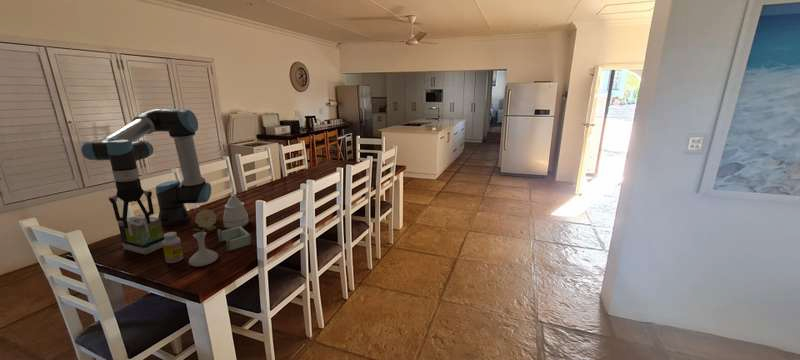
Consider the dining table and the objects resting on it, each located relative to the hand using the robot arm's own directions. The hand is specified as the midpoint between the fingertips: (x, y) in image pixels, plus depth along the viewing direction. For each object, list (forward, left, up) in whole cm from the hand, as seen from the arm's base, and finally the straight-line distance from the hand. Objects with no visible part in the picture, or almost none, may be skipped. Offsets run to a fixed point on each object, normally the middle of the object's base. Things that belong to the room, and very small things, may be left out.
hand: (139, 232), depth 130 cm
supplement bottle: (0, +10, -17) cm, 20 cm away
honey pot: (-24, +44, -17) cm, 53 cm away
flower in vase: (+11, +20, -17) cm, 28 cm away
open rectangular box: (0, +36, -17) cm, 39 cm away
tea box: (-23, +2, -17) cm, 28 cm away
